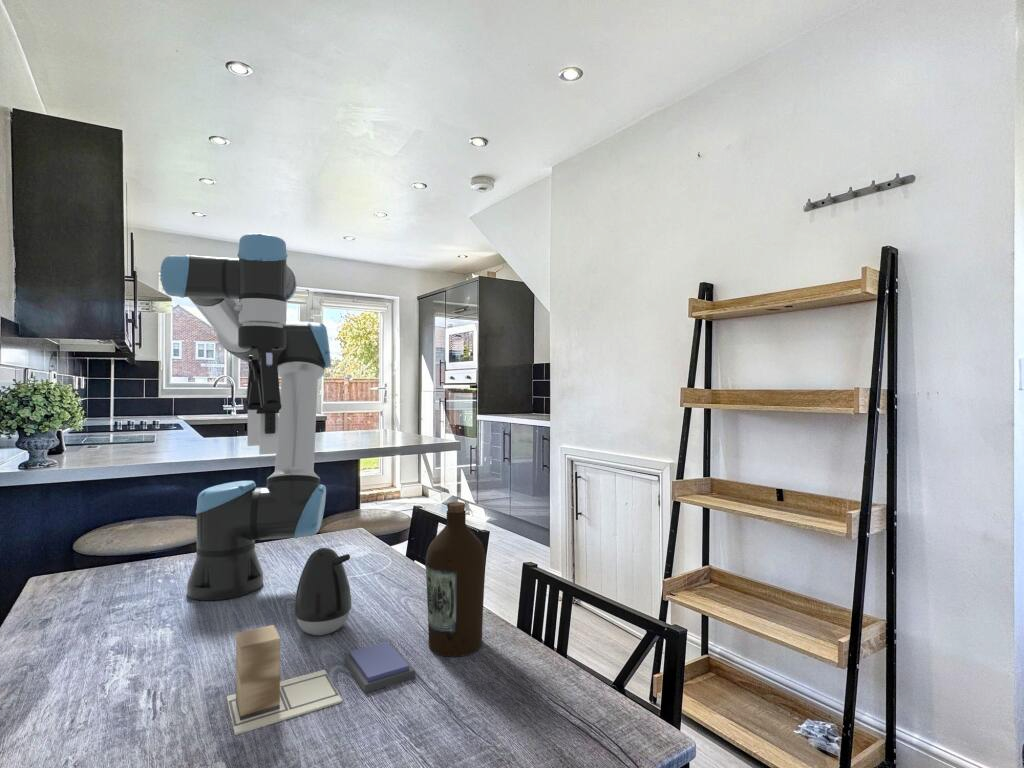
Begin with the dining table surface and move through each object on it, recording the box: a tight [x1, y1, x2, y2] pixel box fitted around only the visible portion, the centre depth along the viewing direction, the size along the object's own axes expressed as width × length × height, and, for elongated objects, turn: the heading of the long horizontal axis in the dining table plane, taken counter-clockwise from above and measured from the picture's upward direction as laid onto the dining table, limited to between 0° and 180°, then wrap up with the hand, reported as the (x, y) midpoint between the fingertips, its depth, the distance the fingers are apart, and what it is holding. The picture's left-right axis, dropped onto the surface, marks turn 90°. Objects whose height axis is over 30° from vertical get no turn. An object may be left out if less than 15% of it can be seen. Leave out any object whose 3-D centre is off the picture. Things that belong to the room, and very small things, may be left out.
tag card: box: [226, 669, 343, 736], centre depth 80 cm, size 10×14×1 cm
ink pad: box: [343, 641, 416, 694], centre depth 89 cm, size 11×8×2 cm
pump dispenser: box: [293, 547, 352, 636], centre depth 103 cm, size 10×10×15 cm
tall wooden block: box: [235, 624, 281, 721], centre depth 78 cm, size 5×5×10 cm
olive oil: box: [424, 501, 487, 658], centre depth 97 cm, size 11×11×25 cm
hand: (261, 449), depth 95 cm, fingers open, 13 cm apart
